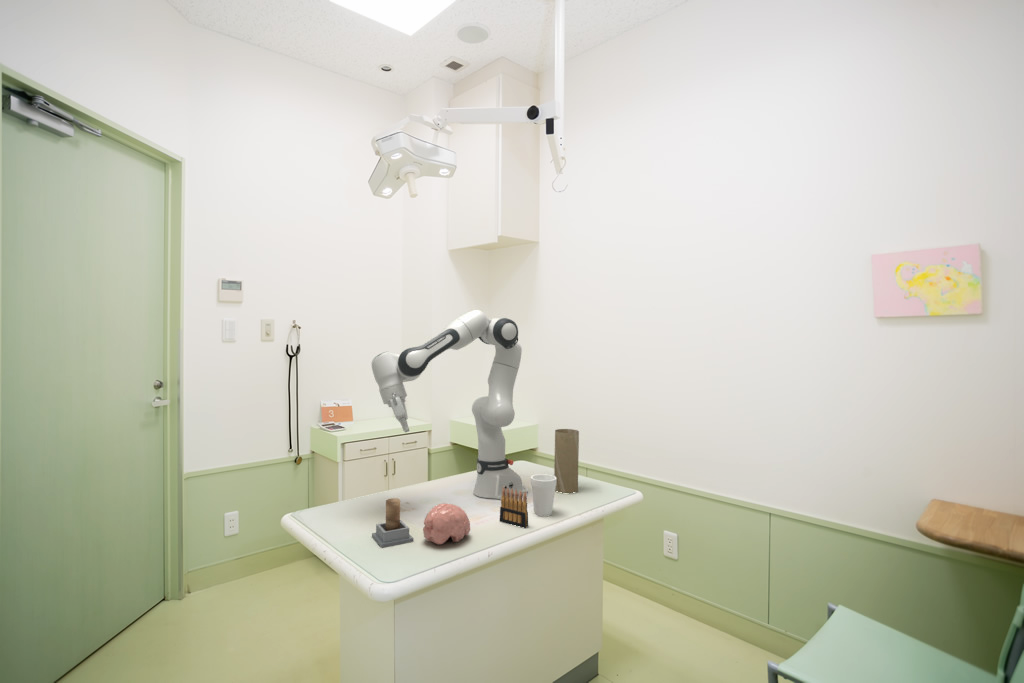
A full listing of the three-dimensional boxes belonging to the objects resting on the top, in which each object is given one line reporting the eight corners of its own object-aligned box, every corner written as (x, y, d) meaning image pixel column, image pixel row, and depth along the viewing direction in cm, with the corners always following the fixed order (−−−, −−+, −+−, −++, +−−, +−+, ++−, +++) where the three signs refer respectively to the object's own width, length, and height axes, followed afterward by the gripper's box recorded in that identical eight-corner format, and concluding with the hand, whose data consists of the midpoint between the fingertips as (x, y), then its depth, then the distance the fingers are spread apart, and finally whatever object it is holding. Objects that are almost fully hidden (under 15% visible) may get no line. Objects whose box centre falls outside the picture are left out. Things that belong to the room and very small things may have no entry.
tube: (574, 486, 217) (575, 428, 217) (580, 493, 207) (581, 433, 207) (551, 487, 216) (552, 428, 216) (556, 494, 206) (558, 433, 206)
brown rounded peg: (397, 531, 160) (397, 497, 160) (402, 536, 156) (402, 501, 156) (382, 534, 157) (383, 499, 157) (387, 539, 153) (388, 503, 153)
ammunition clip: (499, 521, 173) (499, 486, 174) (502, 520, 175) (503, 485, 175) (525, 528, 167) (525, 492, 167) (528, 526, 169) (528, 491, 169)
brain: (446, 543, 165) (458, 505, 168) (473, 554, 156) (484, 514, 160) (409, 535, 154) (423, 495, 158) (436, 546, 145) (449, 504, 149)
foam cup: (524, 513, 182) (525, 477, 182) (541, 507, 189) (541, 472, 189) (545, 519, 176) (545, 482, 176) (561, 513, 183) (561, 477, 183)
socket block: (402, 530, 163) (402, 518, 163) (413, 541, 155) (413, 528, 155) (371, 536, 158) (372, 523, 158) (381, 547, 150) (381, 534, 150)
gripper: (401, 389, 174) (414, 426, 172) (403, 395, 194) (415, 429, 192) (383, 395, 173) (396, 433, 171) (387, 401, 193) (399, 435, 191)
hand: (406, 431), depth 182 cm, fingers open, 8 cm apart
